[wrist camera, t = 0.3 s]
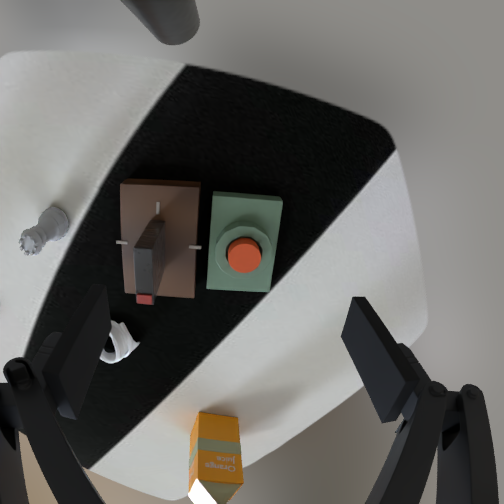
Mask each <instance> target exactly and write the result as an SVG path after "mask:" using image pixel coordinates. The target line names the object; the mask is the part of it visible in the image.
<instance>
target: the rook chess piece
mask: <svg viewBox="0 0 504 504" xmlns="http://www.w3.org/2000/svg"><path fill="white" fill-rule="evenodd" d="M68 227H69V225H68V219H67V217H66V215H65V213H64V212H63V211H62V210H61V209H58V208H56V207H50V208H48V209H46V210H45V211H44V212H43V213H42V214H41V216H40V217H39V221H38V224H37V225H36V226H33V227H32V228H30V229H26V230H24V231H23V233H22V234H21V239H20V240H19V243H20V244H21V245H22V246H20V249H21V251H22V250H23V249H24V251H25V253H24V254H25V255H29V254H30V255H37V254H39V253H40V251H41V250H42V247H44V246H45V244H46V242H47V241H57V240H59V239H61V238H62V237H64V236H65V235H66V233H67V231H68Z"/></svg>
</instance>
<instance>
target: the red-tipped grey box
mask: <svg viewBox="0 0 504 504" xmlns="http://www.w3.org/2000/svg"><path fill="white" fill-rule="evenodd" d="M165 222H166V221H162V220H150V221H149V223H148V224H147V226H146V228H145V229H144V231H143V233H142V234H141V236H140V238H139V239H138V241H137V243H136V244H135V246H134V248H133V254H134V273H135V289H136V302H137V303H139V304H151V305H154V302H155V299H156V296H157V292H158V289H159V286H160V283H161V280H162V276H163V273H164V270H165Z"/></svg>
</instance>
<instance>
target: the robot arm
mask: <svg viewBox="0 0 504 504" xmlns="http://www.w3.org/2000/svg"><path fill="white" fill-rule="evenodd" d="M111 329H112V324H111V318H110V312H109V305H108V298H107V291H106V285H98V284H92V286H91V287H90V289H89V290H88V292H87V294H86V295H85V297H84V298H83V300H82V301H81V303H80V305H79V306H78V308H77V310H76V311H75V313H74V314H73V316H72V318H71V319H70V321H69V323H68V324H67V326H66V328H65V330H64V331H63V333H59V332H53V333H52V334H50V335H49V336H48V337H47V338H46V339H45V341H44V342H43V344H42V347H40V349H39V351H38V353H37V354H36V356H35V357H34V359H33V361H32V363H31V362H30V361H29V360H28V359H26V358H22V357H18V358H14V359H12V360H10V361H8V362H7V363H6V364H5V366H4V368H3V373H4V376H5V378H6V380H7V382H8V383H0V504H29V501H28V496H27V491H26V486H25V479H24V474H23V467H22V460H21V452H20V442H19V431H18V428H24V430H25V432H26V435H27V437H28V440H29V443H30V445H31V447H32V450H33V452H34V455H35V457H36V459H37V461H38V464H39V466H40V468H41V470H42V472H43V475H44V477H45V479H46V480H47V483H48V485H49V487H50V489H51V490H52V493H53V494H54V496H55V498H56V500H57V502H58V504H106V503H105V502H104V501H103V499H102V497H101V496H100V495H99V493H98V491H97V490H96V488H95V487H94V486H93V484H92V482H91V481H90V479H89V478H88V476H87V474H86V473H85V471H84V469H83V468H82V466H81V464H80V462H79V461H78V459H77V457H76V455H75V454H74V452H73V450H72V448H71V446H70V444H69V443H68V441H67V439H66V437H65V435H64V433H63V431H62V429H61V427H60V425H59V423H58V421H57V419H56V417H55V413H56V410H57V408H58V410H59V412H60V414H61V416H63V417H67V418H72V419H76V420H77V418H78V415H79V412H80V409H81V407H82V404H83V401H84V398H85V395H86V393H87V390H88V387H89V384H90V382H91V379H92V376H93V374H94V371H95V369H96V366H97V363H98V361H99V358H100V356H101V353H102V351H103V348H104V346H105V343H106V341H107V339H108V336H109V334H110V331H111ZM341 338H342V340H343V342H344V344H345V346H346V348H347V350H348V352H349V354H350V356H351V358H352V360H353V362H354V364H355V366H356V369H357V371H358V373H359V375H360V377H361V379H362V381H363V383H364V385H365V388H366V390H367V392H368V394H369V396H370V398H371V400H372V403H373V405H374V407H375V409H376V411H377V413H378V416H379V418H380V420H381V422H382V423H386V422H391V421H396V419H397V418H398V416H399V415H400V413H402V415H403V417H404V419H403V421H402V422H401V424H400V425H399V427H398V429H397V430H396V431H395V433H397V432H398V433H397V435H396V438H395V440H394V442H393V445H392V447H391V450H390V452H389V455H388V457H387V459H386V461H385V464H384V466H383V468H382V470H381V472H380V474H379V476H378V479H377V481H376V483H375V485H374V487H373V489H372V491H371V493H370V495H369V497H368V498H367V500H366V502H365V504H419V502H420V499H421V496H422V493H423V491H424V488H425V485H426V482H427V479H428V476H429V472H430V469H431V466H432V462H433V459H434V456H435V452H436V448H438V449H437V450H438V467H437V468H438V469H437V470H438V471H437V497H436V504H499V498H498V485H497V473H496V464H495V456H494V449H493V442H492V436H491V430H490V424H489V419H488V414H487V410H486V405H485V400H484V396H483V393H482V391H481V390H480V389H479V388H478V387H477V386H474V385H472V384H466V385H464V386H463V387H462V389H461V390H460V392H455V391H448V390H447V389H446V387H445V386H444V385H442V384H441V383H439V382H436V381H431V379H430V378H429V376H428V375H427V374H426V372H425V371H424V369H423V367H422V366H421V365H420V363H418V360H417V359H416V358H415V356H414V354H413V353H412V351H411V350H410V349H409V348H408V347H407V346H405V345H404V344H403V343H398V344H397V343H396V341H395V340H394V338H393V337H392V335H391V334H390V332H389V331H388V329H387V328H386V326H385V325H384V324H383V322H382V321H381V319H380V318H379V316H378V315H377V313H376V312H375V310H374V309H373V308H372V306H371V305H370V303H369V302H368V301H367V299H366V298H365V297H352V301H351V304H350V308H349V311H348V315H347V318H346V322H345V325H344V328H343V331H342V335H341Z"/></svg>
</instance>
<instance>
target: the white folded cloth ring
mask: <svg viewBox="0 0 504 504" xmlns="http://www.w3.org/2000/svg"><path fill="white" fill-rule="evenodd" d="M111 324H112V329H111V331H110V334H109V336H111V338H112V341H113V344H114V347H115V350H116V352H113V353H107V352H106V351H105V350H104V349H103V351H102V353H101V356H100V359H102V360H103V361H105V362H107V363H114V362H117V361H120V360H121V359H122V358H124V357H127V356H128V355H129V354H130V353H131V351H133V350H134V349H135V348H136V347H137V346H138V345H139V344H140V342H137V343H136V342H135V341H133V339H132V336H131V335H130V333H129V332H128V330H127V328H126V326H125V324H124V323H123V322H122V323H120V324H118V323H116V322H115V321H112V320H111Z"/></svg>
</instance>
